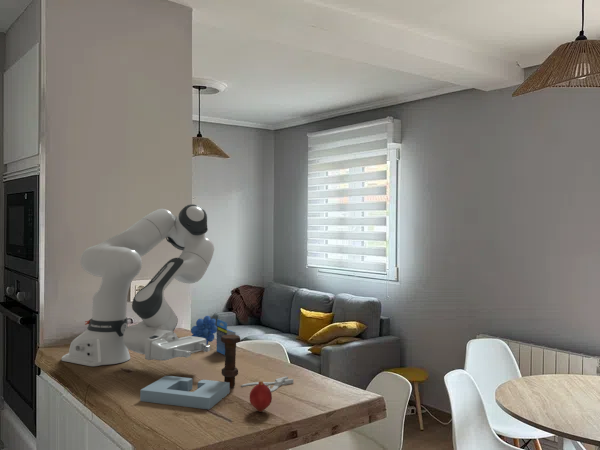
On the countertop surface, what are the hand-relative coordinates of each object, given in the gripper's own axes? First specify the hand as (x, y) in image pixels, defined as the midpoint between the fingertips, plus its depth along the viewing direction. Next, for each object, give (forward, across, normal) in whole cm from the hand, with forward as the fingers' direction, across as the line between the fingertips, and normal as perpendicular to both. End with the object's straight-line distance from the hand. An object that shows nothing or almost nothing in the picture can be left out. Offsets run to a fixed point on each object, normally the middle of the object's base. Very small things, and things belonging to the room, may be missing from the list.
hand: (199, 351), depth 165 cm
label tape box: (-12, -31, -8) cm, 34 cm away
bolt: (+12, 0, -8) cm, 15 cm away
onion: (+31, +12, -8) cm, 34 cm away
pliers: (+22, -7, -8) cm, 24 cm away
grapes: (-25, -34, -8) cm, 43 cm away
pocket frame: (+7, +14, -9) cm, 18 cm away
